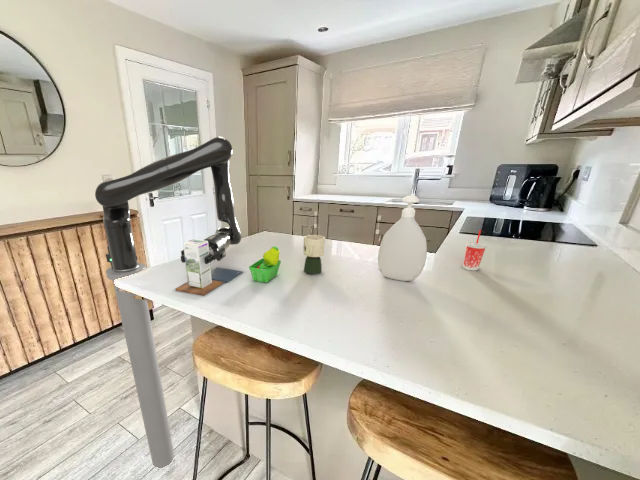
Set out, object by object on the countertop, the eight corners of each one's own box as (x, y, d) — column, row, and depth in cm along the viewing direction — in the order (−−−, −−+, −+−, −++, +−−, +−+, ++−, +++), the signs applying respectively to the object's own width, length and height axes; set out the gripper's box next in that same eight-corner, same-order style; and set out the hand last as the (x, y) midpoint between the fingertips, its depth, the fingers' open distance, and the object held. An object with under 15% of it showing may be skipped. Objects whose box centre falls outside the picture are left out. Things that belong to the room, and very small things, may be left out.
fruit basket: (262, 271, 113) (262, 241, 109) (284, 274, 110) (285, 243, 105) (248, 281, 104) (247, 249, 99) (272, 285, 100) (272, 251, 96)
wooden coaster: (175, 290, 98) (175, 288, 98) (196, 278, 107) (195, 277, 107) (204, 295, 94) (203, 293, 93) (223, 283, 103) (222, 281, 102)
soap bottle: (424, 278, 103) (441, 194, 92) (419, 285, 97) (436, 197, 86) (379, 270, 111) (390, 192, 101) (372, 277, 105) (383, 195, 95)
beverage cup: (465, 264, 115) (475, 227, 109) (484, 268, 110) (494, 230, 105) (456, 267, 112) (466, 229, 107) (475, 272, 107) (485, 232, 102)
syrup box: (212, 283, 102) (208, 240, 96) (201, 289, 97) (197, 244, 91) (198, 280, 104) (194, 238, 98) (187, 286, 99) (182, 242, 94)
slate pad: (200, 278, 108) (200, 276, 107) (217, 268, 117) (217, 267, 117) (227, 282, 103) (227, 281, 103) (242, 272, 112) (242, 271, 112)
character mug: (306, 267, 116) (307, 233, 111) (325, 268, 114) (327, 234, 109) (299, 276, 107) (300, 240, 102) (319, 278, 105) (321, 241, 100)
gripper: (193, 235, 110) (171, 247, 95) (232, 236, 106) (214, 249, 92) (195, 255, 113) (174, 270, 98) (233, 257, 109) (216, 273, 95)
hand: (194, 260), depth 95 cm, fingers open, 7 cm apart
